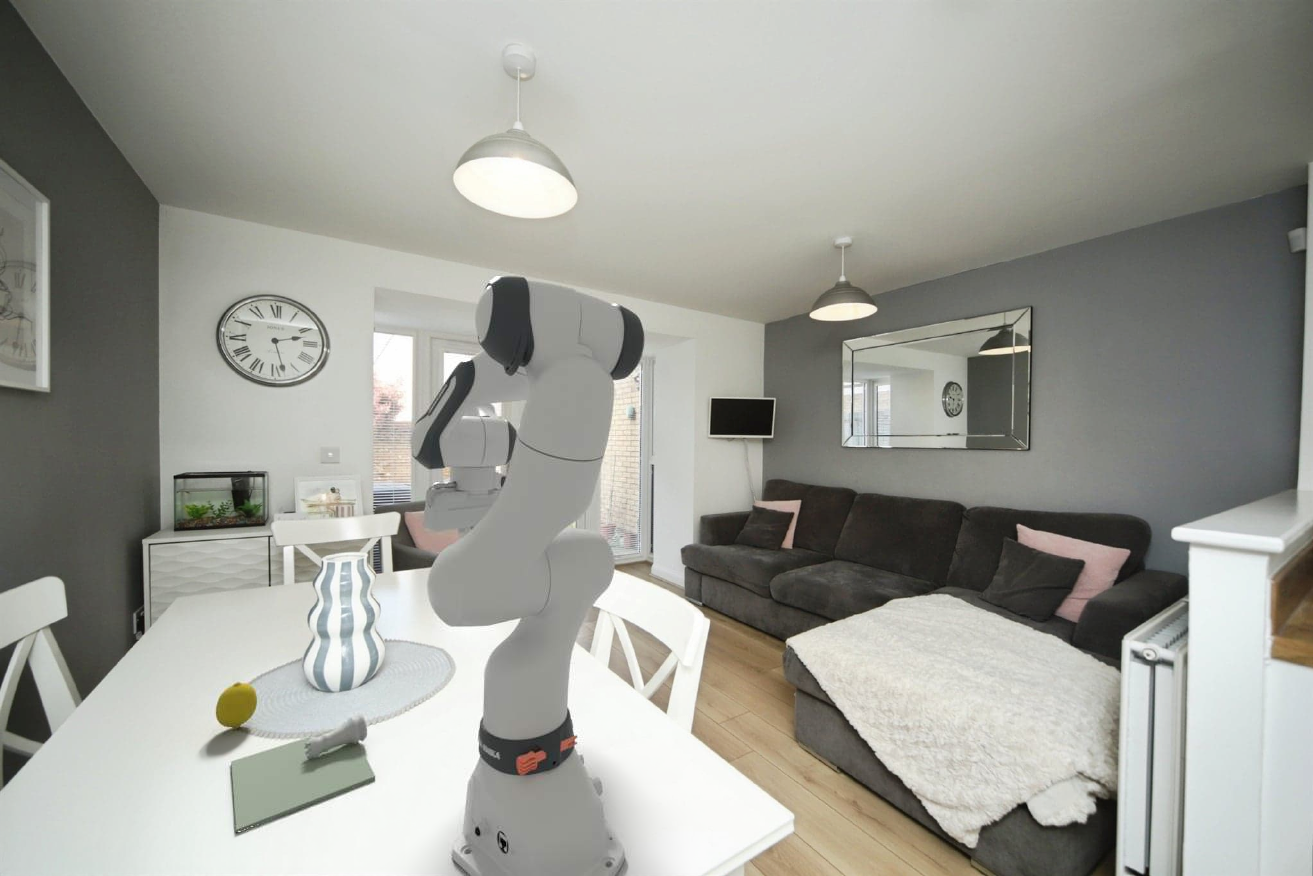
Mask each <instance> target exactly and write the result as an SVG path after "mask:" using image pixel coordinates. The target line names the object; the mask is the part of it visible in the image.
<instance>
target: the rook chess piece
mask: <svg viewBox="0 0 1313 876" xmlns="http://www.w3.org/2000/svg"><path fill="white" fill-rule="evenodd" d="M334 729H335V730H333V729H332V730H333V731H331V732H329V733H327V734H323V735H322V736H320V737H318V738H316V737H311V736H310V737H311V739H310V740H309V741H307V742H305V749H307V748H308V751H306V752H305V753H306V755H307V754H308V756H307V759H310V758H317V757H318V756H319V755H320V753H322V752H327V751H328V750H329V749H331V748H334V747H337V746H340V745H343V744H350V743H352V744H357V743H358V742H360V741H362V742H364V741H365V740H366V738H367V736H368V727H367V722H366V719H365V717H364V715H363V714H361V713H356V715H355V716H350V717H348V718H347V720H346V721H345V722H343V723H342V724H341V725H340V726H339V727H337V729H336V728H334Z"/></svg>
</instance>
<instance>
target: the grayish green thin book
mask: <svg viewBox="0 0 1313 876" xmlns="http://www.w3.org/2000/svg"><path fill="white" fill-rule="evenodd" d="M337 728H338V727H337ZM337 728H334V729H331V730H327V731H323V732H320V733H318V734H315V735H311V736H308V737H305V738H301V739H299V740H294V741H291V742H289V743H286V744H282V745H280V746H276V747H274V748H273V747H272V748H270V749H267V750H264V751H260V752H257V753H253V754H250V755H247V756H244V757H241V758H237V759H234V760H231V761H230V762H231V763H230V766H231V768H232V769H231V779H232V781H233V783H232V794H233V795H234V797H233V806H234V807H233V808H234V810H235V811H234V821H235V822H236V825H235V833H236V832H238V831H242V830H244V829H247V828H249V829H251V828H250V827H251V826H254V827H257V826H258V825H257V824H260V823H262V822H265V823H267V822H269V821H268V820H270V821H272V820H275V819H277V818H279V817H283V816H285V815H287V814H291V813H292V812H296V811H298V810H300V809H303V808H305V807H308V806H311V805H313V804H316V803H319V802H321V801H323V800H327V799H329V798H332V797H334V796H336V795H339V794H342V793H344V792H347V791H350V790H351V789H355V788H358V787H360V786H362V785H365V784H367V783H370V782H373V781H374V780H376V775H375V773H374V771H373V769H372V766H371V764H370V763H369V761H368V759H367V757H366V755H365V752H364V750H363V748H362V746H361V745H360V741H358V743H357V744H352V743H350V744H343V745H340V746H337V747H334V748H331V749H329V750H328V751H327V752H322V753H320V755H319V756H318V757H317V758H310V759H307V756H308V754H307V755H306V753H305V752H306V751H308V748H307V749H305V742H307V741H309V740H310V739H311V737H316V738H318V737H320V736H322V735H323V734H327V733H329V732H331V731H333V730H335V729H337ZM271 819H272V820H271ZM266 821H267V822H266ZM235 822H234V823H235ZM262 824H263V823H262ZM256 825H257V826H256ZM260 825H261V824H260ZM247 830H248V829H247ZM244 831H245V830H244ZM242 832H243V831H242Z"/></svg>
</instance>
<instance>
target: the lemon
mask: <svg viewBox="0 0 1313 876" xmlns="http://www.w3.org/2000/svg"><path fill="white" fill-rule="evenodd" d="M257 705H258V697H257V693H256V690H255V688H254V686H252V685H251V684H248V683H245V682H240V681H237V682H235V683H234V684H233V685H231V686H229V687H227V688H226V689H225V690H224V691H223V692H222V693H221V694H220V695H219V697H218V700H217V703H216V707H215V716H216V720H217V721H218V724H220V725H221V726H223V727H224V728H225V727H226V728H232V729H233V730H236V729H239V728H240V726H242V725H243V724H245V723H246V722H248V721H249V720H250V719H251V718H252V716H253V715H254V713H255V712H256V710H257Z"/></svg>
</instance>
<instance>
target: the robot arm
mask: <svg viewBox="0 0 1313 876" xmlns="http://www.w3.org/2000/svg"><path fill="white" fill-rule="evenodd" d="M474 317H475V318H474V321H475V322H474V323H475V329H476V333H477V342H478V343H479V345H480V347H481V348H482V349H481V350H480V351H478V352H477V353H476V354H475V355H474V356H471V357H469V358H467V359H465V360H462V361H461V362H459V363H458V364H457V365H456V367H455V368H454V369H453V371H452V372H451V373H450V374H449V376H448V378H447V379H446V381H445V382H444V384H443V385H442V387H441V389H440V390H439V392H438V393H437V395H436V397H435V398H434V399H433V401H432V403H431V404H430V406H429V408H428V409H427V411H426V412H425V413H424V414H423V415H422V416H421V417H420V418H419V419H418V420H417V421H416V422H415V425H414V427H413V430H412V432H411V435H410V448H411V449H410V450H411V454H412V457H413V458H414V459H415V460H416V462H418V463H419V464H420V465H421V466H423V467H424V468H426V469H427V470H439V469H440V470H441V469H446V468H450V469H449V470H450V471H449V481H446V482H435V483H433V484H432V485H430V487H428V489H427V490H426V493H425V501H426V502H425V505H424V511H423V517H422V519H423V520H422V527H423V528H424V530H425V531H427V532H431V533H432V532H433V533H440V532H445V531H453V530H457V533H458V535H459V537H460V538H459V539H458V540H456V541H455V542H454V543H452V544H450V545H448V546H447V547H445V548H444V549H442V551H440V553H439V554H438V555H437V557H436V559H434V561H433V564H432V565H431V568H430V571H429V572H428V573H429V574H428V577H427V578H428V579H427V584H426V585H427V586H426V588H427V596H428V597H427V598H428V601H429V604H430V607H431V608H432V610H433V612H434V613H435V615H436V616H437V617H438V618H439V619H440V621H442V622H443V623H445V624H446V626H449V627H454V628H455V627H457V628H458V627H460V628H462V627H468V628H469V627H471V628H472V627H490V626H493V625H499V624H502V623H507V622H510V621H514V620H518V619H520V620H519V622H518V623H517V625H516V626H515V628H514V629H513V630H512V632H511V633H510V634H509V635H508V636H507V637H506V638H505V639H504V640H503V641H502V642H501V643H499V644H498V645H497V646H495V648H494V649H493V651H492V652H491V654H490V655H489V657H488V659H487V660H486V661H487V662H486V665H485V667H484V674H483V676H484V679H483V680H484V681H483V710H482V711H483V714H482V716H481V719H480V721H479V722H480V723H479V729H478V734H477V736H478V737H477V741H478V753H479V758H478V761H477V763H476V766H475V768H474V769H473V772H472V773H471V775H470V777H469V779H468V782H467V786H466V787H467V788H466V798H465V808H464V817H463V818H464V819H463V828H462V833H461V834H460V835H459V836H458V838H457V839H456V840H455V842H454V843H453V845H452V851H451V859H453V861H454V862H456V863H457V865H459V866H460V868H462V870H464V872H466V873H467V874H468V875H469V876H616V875H617V874H618V872H619V871H620V869H621V867H622V866H623V863H624V862H625V861H624V860H625V849H624V847H623V845H622V843H621V842H620V839H619V838H618V837H617V835H616V833H615V832H614V830H613V829H612V827H611V826H610V824H609V822H608V821H607V820H606V818H605V812H604V807H603V803H602V799H600V797H601V796H602V795H603V785H602V781H601V779H600V777H599V776H598V775H597V776H596V775H595V776H592V777H590V776H589V772H588V771H587V769H586V766H585V758H584V755H583V754H578V752H577V749H576V747H575V746H576V745H578V742H577V741H576V739H578V735H575V732H574V723H573V720H572V716H571V711H570V709H569V707H568V705H569V704H568V702H569V701H568V700H569V683H570V671H571V670H570V669H571V660H572V655H573V651H574V648H575V643H576V641H577V638H578V635H579V633H580V630H581V629H582V626H583V623H584V622H585V619H586V617H587V616H588V614H589V613H590V610H592V607H594V604H596V601H598V600H599V598H600V597H601V596H603V594H604V593H605V592H606V591H607V590H608V589H609V588H610V586H611V583H612V582H613V578H614V574H615V570H616V569H615V564H616V563H615V562H616V561H615V555H614V552H613V549H612V546H611V545H610V542H609V541H608V540H607V538H606V537H605V536H604V535H603V534H602V533H600V532H599V531H597V530H592V529H586V528H585V529H584V528H576V527H569V526H570V525H572V524H574V523H575V522H577V521H578V520H579V519H580V518H581V517H582V516H583V515H584V514H586V512H587V510H588V509H589V507H590V506H591V504H592V500H593V497H594V493H595V489H596V486H597V483H598V479H599V476H600V472H601V468H602V464H603V461H604V457H605V453H606V451H607V445H608V441H609V437H610V430H611V426H612V418H613V412H614V403H615V383H614V381H619V380H624V379H626V378H628V377H629V376H631V374H632V373H633V372H634V371H635V370H636V368H637V367H638V366H639V364H640V361H641V359H642V356H643V353H644V348H645V330H644V327H643V323H642V322H641V319H640V317H639V316H638V315H637V314H636V313H635V312H633V311H631V310H630V309H628V308H626V307H625V306H623V305H620V304H618V303H610V302H607V301H605V300H602V299H600V298H597V297H595V296H591V295H589V294H586V293H583V292H579V291H577V290H576V289H574V288H572V287H567V286H562V285H558V284H553V283H548V282H543V281H536V280H535V281H534V280H527V279H526V277H524V276H518V275H499V276H498V275H497V276H495V277H494V278H493V279H491V280H490V281H489V282H488V283H487V284H486V286H485V288H484V290H483V292H482V294H481V296H480V297H479V300H478V302H477V305H476V309H475V315H474ZM525 400H526V401H525ZM521 401H525V404H524V407H523V409H522V413H521V417H520V420H519V424H518V427H517V429H516V428H515V427H514V425H512V423H511V422H510V421H509V420H507V419H505V418H501V417H500V416H499V415H497V414H496V408H495V406H494V405H493V404H498V403H512V402H521ZM507 464H509V465H508V468H507V473H506V474H502V473H500V472H498V471H497V467H502V466H505V465H507Z"/></svg>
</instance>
